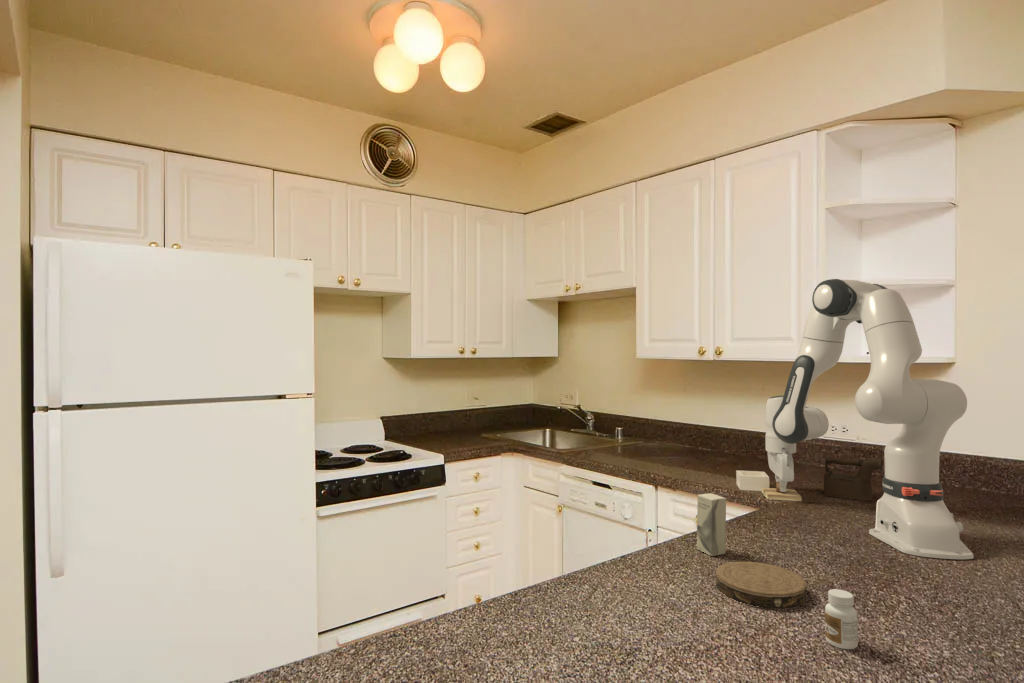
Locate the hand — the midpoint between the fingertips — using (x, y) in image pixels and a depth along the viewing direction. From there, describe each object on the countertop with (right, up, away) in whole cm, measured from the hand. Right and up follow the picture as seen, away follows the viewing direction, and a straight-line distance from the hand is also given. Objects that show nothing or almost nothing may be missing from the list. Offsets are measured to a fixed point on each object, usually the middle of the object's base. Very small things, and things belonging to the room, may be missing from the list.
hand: (781, 489), depth 179 cm
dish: (-4, -3, +11) cm, 12 cm away
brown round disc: (-38, -1, -71) cm, 80 cm away
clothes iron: (+22, -3, 0) cm, 22 cm away
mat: (0, -2, 0) cm, 2 cm away
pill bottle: (-34, -1, -90) cm, 97 cm away
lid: (0, -2, 0) cm, 2 cm away
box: (-40, -2, -50) cm, 64 cm away
